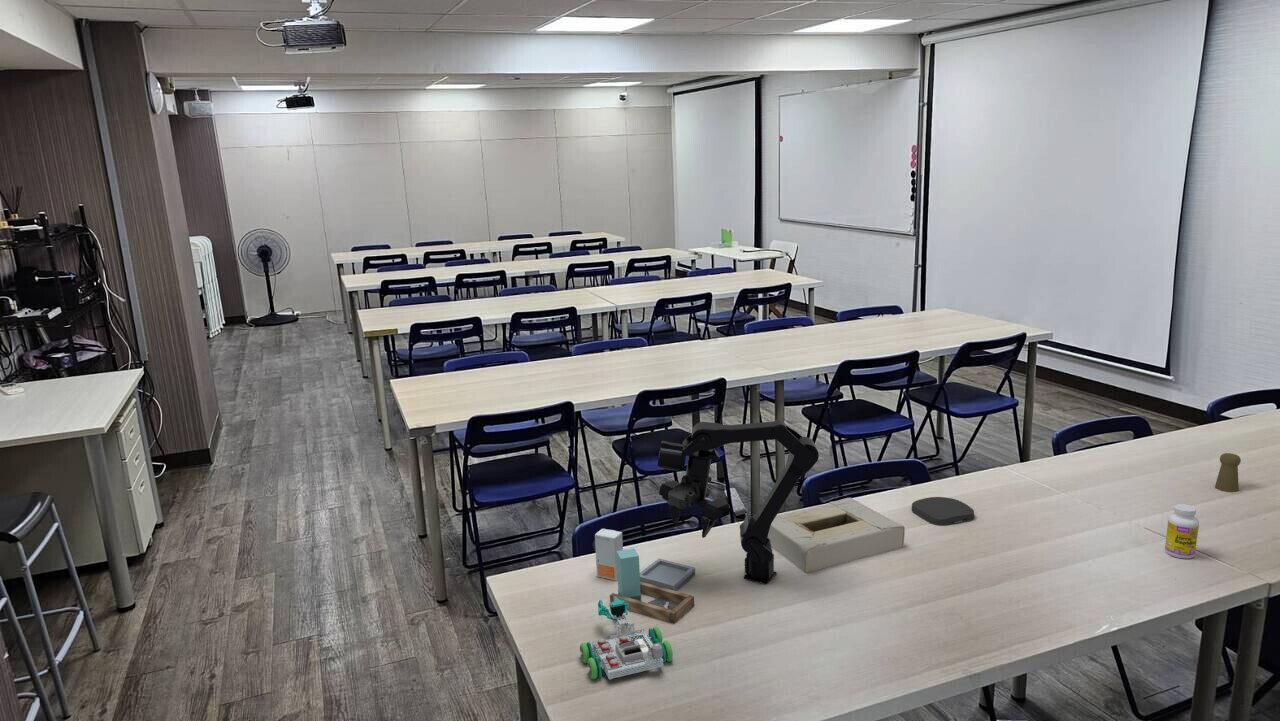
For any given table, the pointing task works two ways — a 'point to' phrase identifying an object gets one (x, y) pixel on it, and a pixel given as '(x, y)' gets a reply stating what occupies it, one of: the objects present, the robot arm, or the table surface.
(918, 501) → the media streaming box
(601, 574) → the skincare box
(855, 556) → the box
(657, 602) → the set of grey tiles
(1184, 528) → the supplement bottle
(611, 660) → the robot kit
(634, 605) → the slot rail
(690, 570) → the tray
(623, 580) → the tall teal block
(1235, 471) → the cork
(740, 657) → the table surface
